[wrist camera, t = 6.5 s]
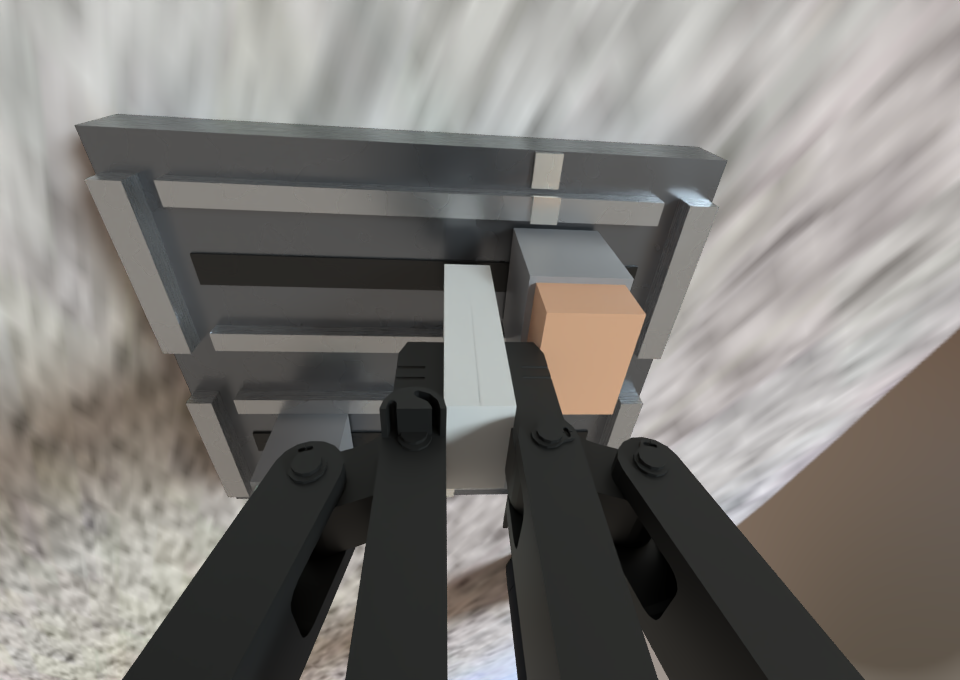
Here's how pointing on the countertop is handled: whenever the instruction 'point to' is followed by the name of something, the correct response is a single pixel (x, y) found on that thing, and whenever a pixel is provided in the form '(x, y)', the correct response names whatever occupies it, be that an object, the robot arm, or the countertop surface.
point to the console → (365, 254)
